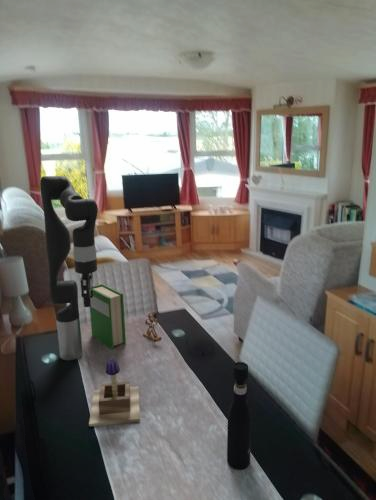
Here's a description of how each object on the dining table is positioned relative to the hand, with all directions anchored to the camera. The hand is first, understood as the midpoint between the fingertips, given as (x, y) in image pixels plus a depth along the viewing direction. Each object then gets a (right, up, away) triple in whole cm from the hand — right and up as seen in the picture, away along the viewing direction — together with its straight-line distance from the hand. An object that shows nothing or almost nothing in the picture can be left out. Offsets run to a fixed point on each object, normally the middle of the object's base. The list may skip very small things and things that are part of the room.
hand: (88, 302), depth 139 cm
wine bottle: (+49, -41, -28) cm, 70 cm away
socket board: (+10, -35, -4) cm, 37 cm away
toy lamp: (+10, -34, -4) cm, 36 cm away
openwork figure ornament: (+18, -23, +45) cm, 54 cm away
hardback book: (-2, -23, +43) cm, 49 cm away
